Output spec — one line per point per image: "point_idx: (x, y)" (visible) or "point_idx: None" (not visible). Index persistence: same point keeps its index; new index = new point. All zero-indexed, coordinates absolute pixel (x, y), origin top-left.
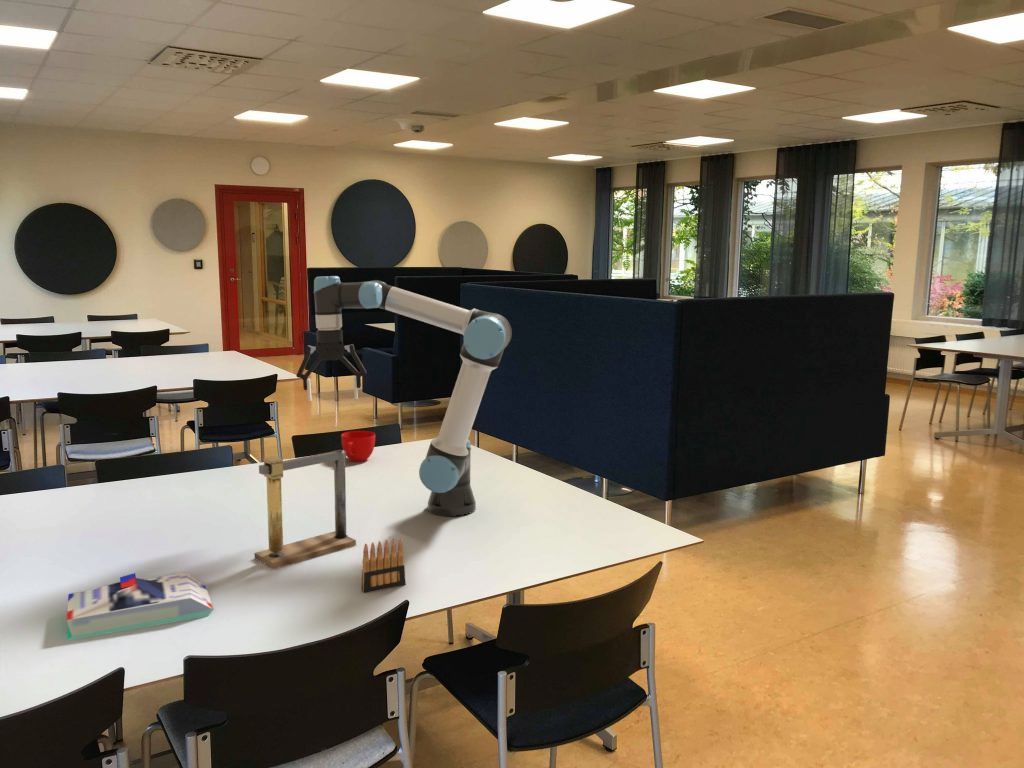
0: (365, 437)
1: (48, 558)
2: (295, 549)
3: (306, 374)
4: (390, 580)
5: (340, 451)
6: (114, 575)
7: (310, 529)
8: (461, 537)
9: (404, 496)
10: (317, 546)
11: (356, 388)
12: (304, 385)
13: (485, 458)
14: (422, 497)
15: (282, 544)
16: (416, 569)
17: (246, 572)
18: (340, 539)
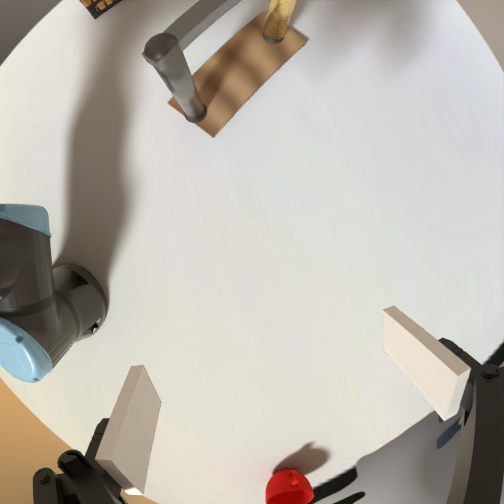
0: (282, 502)
1: (492, 80)
2: (252, 53)
3: (494, 391)
4: (105, 3)
5: (157, 45)
6: (424, 22)
7: (266, 165)
8: (37, 175)
9: (161, 354)
10: (221, 67)
11: (115, 408)
12: (457, 352)
13: None
14: (133, 351)
15: (264, 27)
16: (80, 52)
17: (294, 7)
18: None
